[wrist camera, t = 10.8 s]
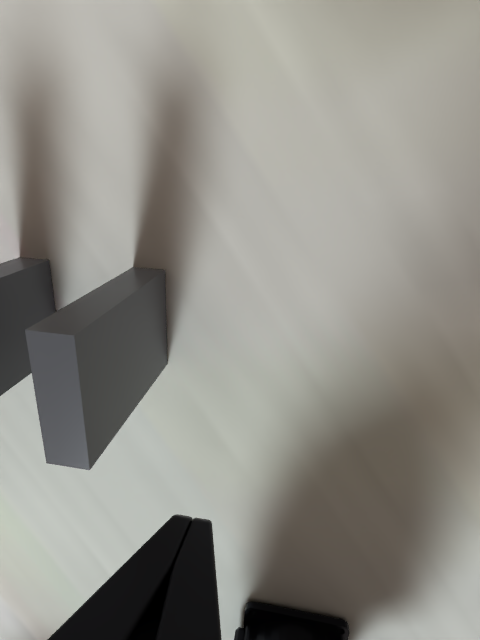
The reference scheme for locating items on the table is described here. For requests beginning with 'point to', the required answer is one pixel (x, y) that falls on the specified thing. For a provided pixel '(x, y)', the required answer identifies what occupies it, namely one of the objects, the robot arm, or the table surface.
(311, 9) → the table surface
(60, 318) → the domino
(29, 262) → the domino
